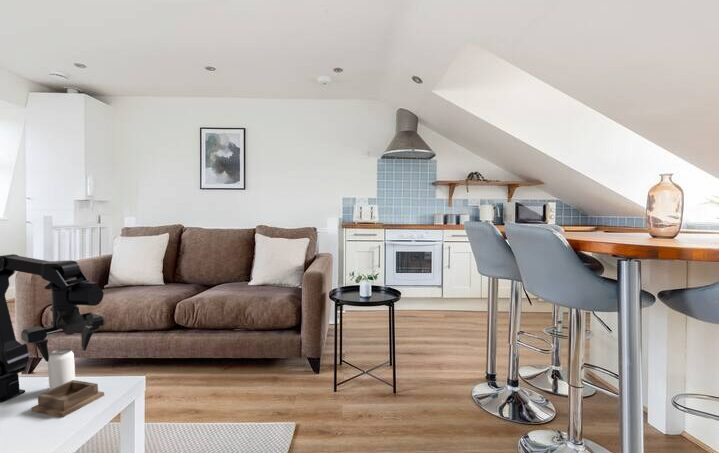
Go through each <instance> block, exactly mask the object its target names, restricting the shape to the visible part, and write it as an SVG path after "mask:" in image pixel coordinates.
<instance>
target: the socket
mask: <svg viewBox="0 0 719 453" xmlns="http://www.w3.org/2000/svg"><path fill="white" fill-rule="evenodd" d="M98 384H99V383H94V382H88V381H81V380H76V379H75V380H72V381H70V382H67V383H65V384H63V385H61V386H58V387H56V388H54V389H52V390H50V389H49V390H47V391H45V392H43V393H40V394H38V395H37V404H36V405H34V406H32V407H31V412H36V413H41V414H46V415H50V416H51V415H52V416H56V417H60V418H64V417H66V416H68V415H70V414H72V413H73V412H77V411H78V410H80V409H82V408H83V407H85V406H87V405H89V404H91V403H92V402H94V401H97V400H98V399H101V398H102V397H105V392H104V391H100V390H99V387H98V386H99V385H98Z"/></svg>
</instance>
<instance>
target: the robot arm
mask: <svg viewBox="0 0 719 453" xmlns="http://www.w3.org/2000/svg"><path fill="white" fill-rule="evenodd" d="M16 272H19V273H25V274H31V275H35V276H39V277H41V278H42V280H44V281H46V282H49V283H48V284H47V285H45V286H44V289H45V290H51V307H50V312H51V313H52V321H50V325H51V326H50V327H42V326H38V325H37V326H34V327H28V328H24V329H23V330H22V331H21V333H20V338H21V339H20V340H22V341H23V342H25V343H23V344H22V343H21V342H19V341H18V340H17V339H16V335H15V329H14V326H13V322H12V318H11V313H10V310H9V307H8V302H7V298H6V293H7V291H8V289H9V287H10V280H9V279H10V278H11V277H12V276H13V275H14V274H16ZM104 293H105V292H104V291H103V289H102V287H100V286H99V285H98V281H91V282H90V280H89V278H88V277H87V275H86V273H84V271H83V270H82V267H80V266H79V264H78V262H77V261H75V260H73V259H71V260H51V261H49V260H44V259H39V258H32V257H27V256H20V255H18V254H15V253H14V254H13V253H12V254H6V255H5V254H4V255H0V403H3V402H5V401H8V400H10V399H12V398H14V397H17V396H19V395H22V394H24V393H26V390H25V389H22V388H21V389H20V378H19V373H22V372H25V371H26V369H27V366H28V364H29V361H30V357H31V354H30V352H29V350H28V345H27V344H32V345H35V346H36V348H37V349H38V350H39V352H40V354H41V356H42V357H43V359H44V361H45V362H46V363H48V361H49V348H48V344H49V339H46V338H47V337H48V335H52V334H57V333H61V332H64V334H65V335H66V336H73V335H74V334H76V333H77V334H78V333H81V334H80V336H81V338H80V339H81V349H82V351H83V352H85V351H87V348H88V346H89V343H90V340H91V338H92V335H93V334H94V333H95V332H96V331H97V330H100V327H103V326H105V317H103V316H101V315H99V314H96V313H92V312H91V311H90V312H86V313H85V312H84V313H81V312H80V309H79V308H80V307H79V306H90V307H92V306H98V305H99V304H100V303H102V301H103V299H104Z"/></svg>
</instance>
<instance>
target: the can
mask: <svg viewBox="0 0 719 453" xmlns="http://www.w3.org/2000/svg"><path fill="white" fill-rule="evenodd" d="M48 355H49V361H48V362H47V371H48V386H49V388H48V389H49V391H50V390H52V389H54V388H56V387H58V386H61V385H63V384H65V383H67V382H70V381H72V380H76V366H75V354H74V352H73V349H72V348H69V347H65V348H59V349H56V350H53V351H51V352H48Z"/></svg>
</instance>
